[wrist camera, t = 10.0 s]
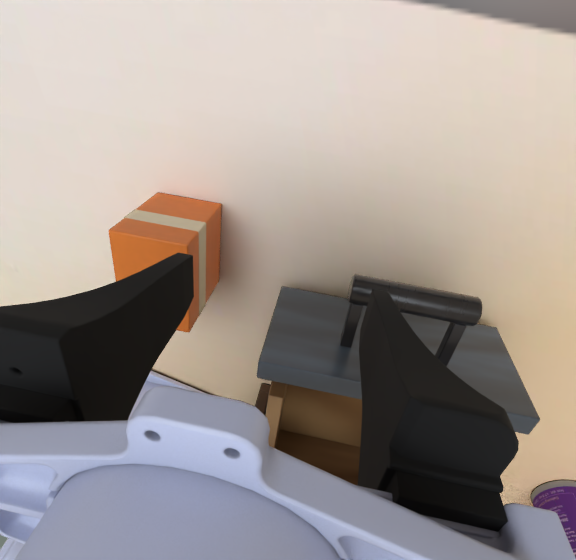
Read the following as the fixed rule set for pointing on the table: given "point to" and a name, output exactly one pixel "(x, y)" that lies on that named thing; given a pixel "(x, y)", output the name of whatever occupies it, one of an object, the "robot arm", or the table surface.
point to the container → (559, 504)
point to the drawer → (346, 366)
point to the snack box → (171, 243)
